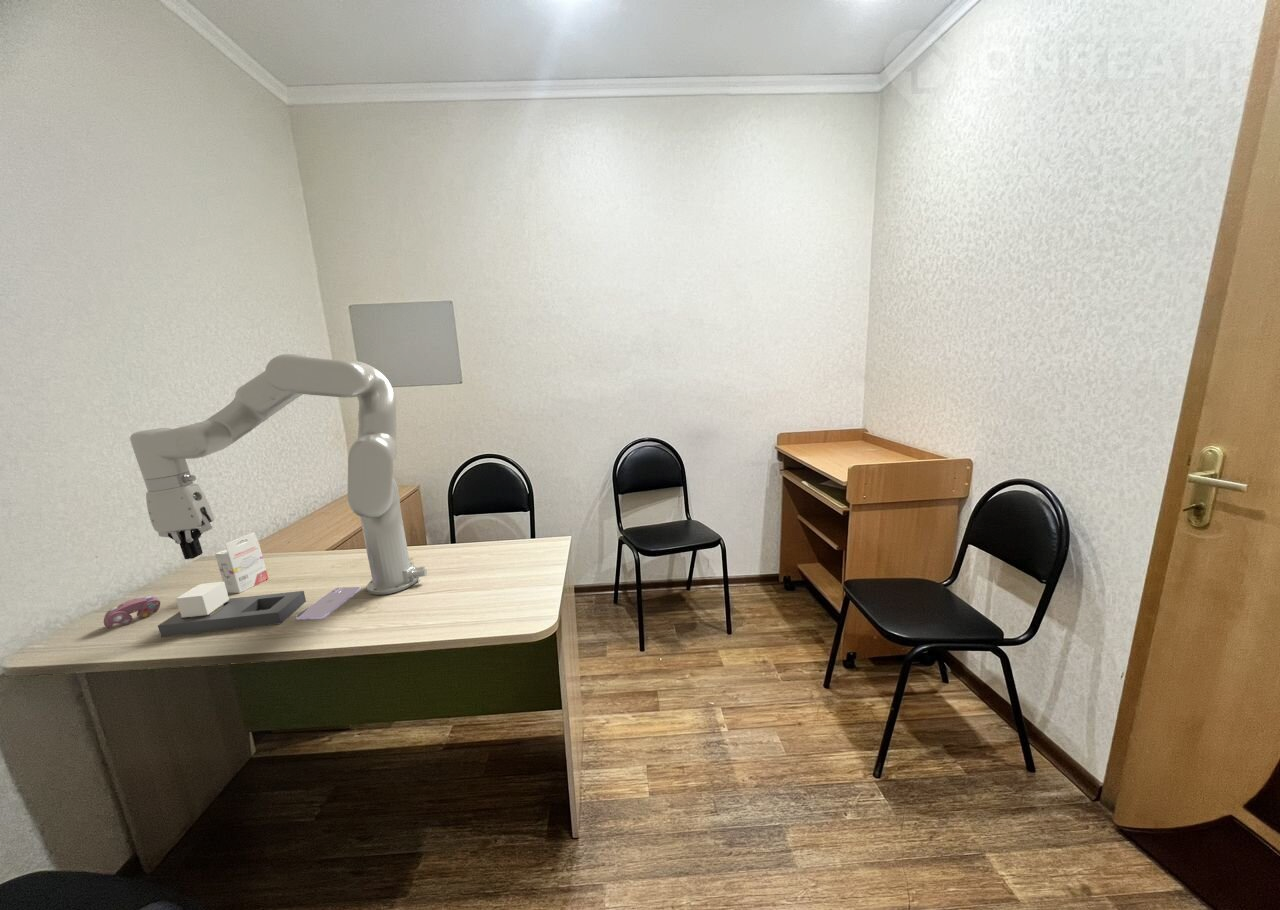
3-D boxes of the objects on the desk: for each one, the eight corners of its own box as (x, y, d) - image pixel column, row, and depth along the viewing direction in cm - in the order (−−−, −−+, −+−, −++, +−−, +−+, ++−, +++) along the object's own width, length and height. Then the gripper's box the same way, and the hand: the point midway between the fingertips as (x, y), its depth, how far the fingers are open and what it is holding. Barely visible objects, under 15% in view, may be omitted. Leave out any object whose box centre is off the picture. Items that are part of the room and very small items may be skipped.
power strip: (306, 601, 121) (303, 588, 121) (281, 623, 111) (277, 610, 111) (197, 613, 119) (193, 600, 118) (161, 637, 109) (156, 623, 108)
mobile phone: (292, 617, 113) (335, 586, 127) (293, 621, 113) (336, 589, 127) (322, 616, 112) (362, 586, 127) (323, 620, 112) (363, 589, 127)
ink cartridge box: (255, 578, 137) (243, 531, 134) (269, 578, 136) (257, 531, 133) (224, 593, 129) (210, 543, 126) (239, 593, 128) (225, 543, 125)
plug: (232, 612, 118) (224, 581, 116) (211, 628, 111) (202, 595, 109) (208, 614, 117) (199, 584, 116) (185, 631, 111) (175, 598, 109)
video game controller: (109, 637, 113) (105, 617, 110) (102, 625, 114) (98, 605, 111) (165, 616, 121) (162, 597, 118) (157, 605, 123) (154, 586, 120)
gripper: (217, 474, 111) (239, 546, 115) (148, 482, 110) (173, 554, 114) (191, 483, 104) (216, 559, 108) (117, 491, 102) (145, 568, 106)
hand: (194, 556), depth 111 cm, fingers closed
